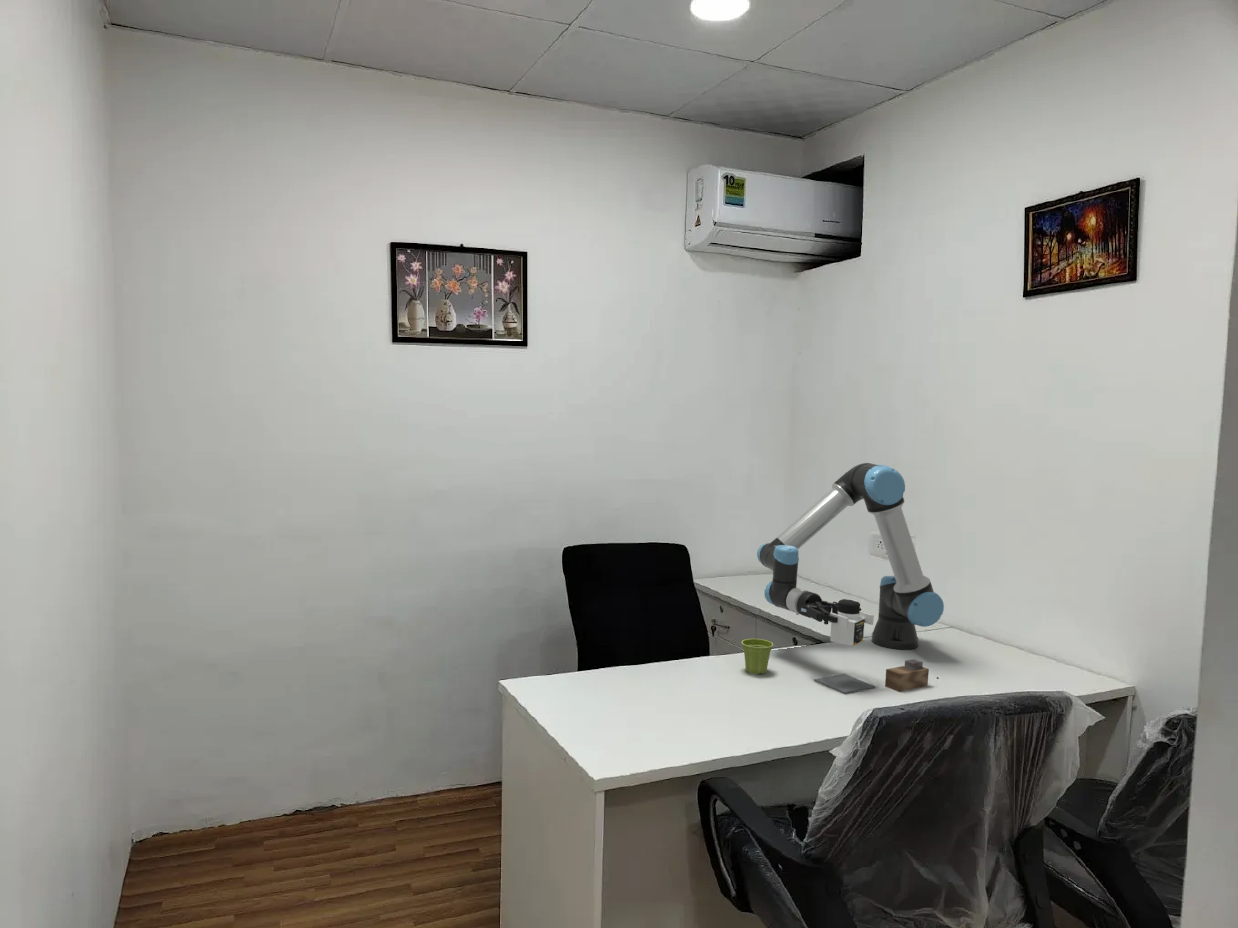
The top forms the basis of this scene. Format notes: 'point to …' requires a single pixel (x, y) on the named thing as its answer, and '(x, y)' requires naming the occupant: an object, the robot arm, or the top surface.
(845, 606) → the medicine bottle
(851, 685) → the mat
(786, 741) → the top surface
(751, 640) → the plant pot
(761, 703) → the top surface
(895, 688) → the plane body block
